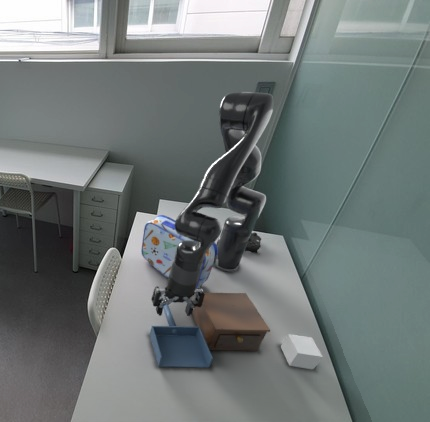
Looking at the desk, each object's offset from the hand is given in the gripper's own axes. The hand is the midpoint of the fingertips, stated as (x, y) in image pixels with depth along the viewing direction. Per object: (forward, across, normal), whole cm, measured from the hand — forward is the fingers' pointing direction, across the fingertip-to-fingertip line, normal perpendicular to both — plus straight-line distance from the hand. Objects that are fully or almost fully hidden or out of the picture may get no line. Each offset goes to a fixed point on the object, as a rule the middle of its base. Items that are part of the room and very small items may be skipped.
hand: (173, 313), depth 94 cm
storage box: (+6, -16, +1) cm, 18 cm away
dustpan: (+6, 0, +3) cm, 7 cm away
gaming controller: (+6, -44, -42) cm, 62 cm away
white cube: (+6, -34, +10) cm, 36 cm away
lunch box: (+6, -8, -25) cm, 27 cm away
